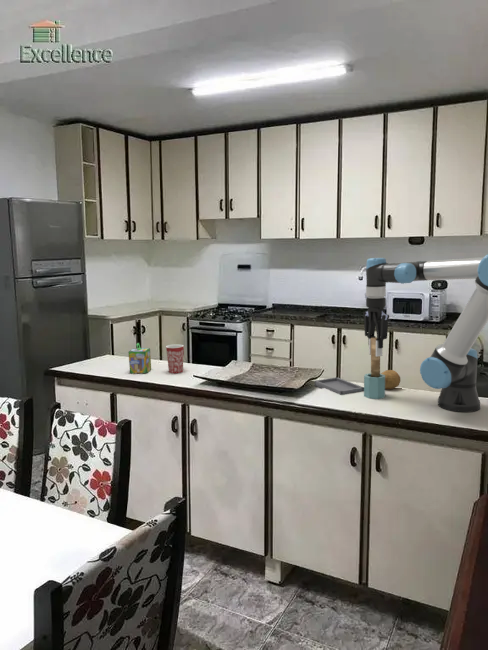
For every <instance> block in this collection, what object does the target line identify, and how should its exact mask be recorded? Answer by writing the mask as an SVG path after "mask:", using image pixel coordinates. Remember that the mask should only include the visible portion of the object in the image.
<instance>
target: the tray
mask: <svg viewBox="0 0 488 650" xmlns="http://www.w3.org/2000/svg"><path fill="white" fill-rule="evenodd" d="M314 387H316V388H319V389H326V390H328V391H331V392H333V393H335V394H337V395H340V396H342V395H349V394H354V393H360V392H364V386H361V385H358V384H356V383H353V382H351V381H348V380H345V379H342V378H340V377H330V378H325V379H317V380H316V379H315V380H314Z"/></svg>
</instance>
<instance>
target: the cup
mask: <svg viewBox="0 0 488 650" xmlns="http://www.w3.org/2000/svg"><path fill="white" fill-rule="evenodd" d="M363 387H364V391H363V397H365V398H367V399H372V400H379V399H383V398H385V397H386V389H385V375H383V374H381V373H380V377H371V372H370V373H365V374H364V375H363Z"/></svg>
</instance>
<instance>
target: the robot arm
mask: <svg viewBox="0 0 488 650" xmlns="http://www.w3.org/2000/svg"><path fill="white" fill-rule="evenodd" d="M365 266H366V269H365V272H366V273H365V274H366V278H365V279H366V281H365V282H366V285H365V296H366V298H365V301H366V302H365V305H366V308H367V310H366V311H363V313H362V314H363V321H364V323H363V325H364V336H365V337H367V338H368V339H367V340H368V342H367V343H368V355H370V356H371V338H373V337H377V339H376V356H380V357H382V356H383V348H384V340H387V338H388V326H389V318H390V314H386V313H385V309H384V308H385V307H386V304H387V303H386V301H387V300H386V294H387V293H386V287H387V286H386V285H387V284H388V283H391V284H393V283H395V284H403V285H404V284H412V282H419V281H423V282H424V281H445V280H448V281H449V280H474V283H475V285H476V287H475V288H474V291H473V292H472V294H471V296H470V298H469V300H468V301H467V303H466V304H465V306H464V308H463V310H462V312H461V313H460V315H459V316H458V318H457V320H456V322H454V325H453V327H452V329H451V330H450V332H449V333H448V335H447V337H446V338H445V340H444V342H443V343H441V344H438V345H436V347H435V348H434V350H433V352H432V353H431V355H430V357H426V358H425V359H424V360H422V362H421V363H420V367H419V373H420V375H421V379H422V380H423V382H424V383H425V385H427V386H429V388H433V389H437V390H440V393H439V396H438V398H437V406H438V407H440V408H441V409H444V410H447V411H453V412H460V413H468V412H469V413H471V412H476V411H479V410H480V409H481V400H480V399H479V394H478V390H477V378H478V377H477V375H478V374H477V373H478V359H479V358H478V351H477V350H476V349H475V348H472V347H473V345H474V344H475V342H476V341H477V339H478V338H479V336H480V334H481V332H482V331H483V329H484V328H485V326H486V325H487V323H488V253H487V254H486V255H484V256H483V257H481V256H479V257H470V258H469V257H466V258H454V259H452V258H451V259H438V260H437V259H436V260H423V261H422V260H419V261H413V262H412V261H411V262H391V263H389V262H387V259H386V258H385V257H371V258H370V257H369V258H367V260H366V265H365ZM375 332H376V333H375ZM375 334H376V336H375Z"/></svg>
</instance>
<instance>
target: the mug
mask: <svg viewBox="0 0 488 650" xmlns="http://www.w3.org/2000/svg"><path fill="white" fill-rule="evenodd" d="M184 347H185V345H184V344H175V343H174V344H168V345H166V346H165V349H166V356H167V357H166V359H167V365H168V366H167V367H168V373H169V374H181V373H183V372H184V355H185V348H184Z"/></svg>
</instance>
